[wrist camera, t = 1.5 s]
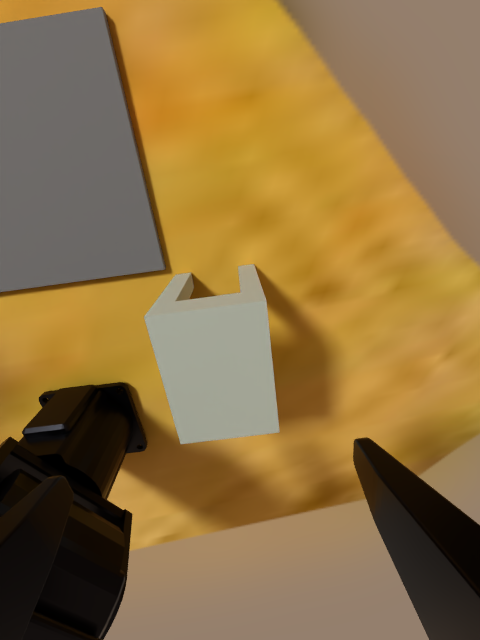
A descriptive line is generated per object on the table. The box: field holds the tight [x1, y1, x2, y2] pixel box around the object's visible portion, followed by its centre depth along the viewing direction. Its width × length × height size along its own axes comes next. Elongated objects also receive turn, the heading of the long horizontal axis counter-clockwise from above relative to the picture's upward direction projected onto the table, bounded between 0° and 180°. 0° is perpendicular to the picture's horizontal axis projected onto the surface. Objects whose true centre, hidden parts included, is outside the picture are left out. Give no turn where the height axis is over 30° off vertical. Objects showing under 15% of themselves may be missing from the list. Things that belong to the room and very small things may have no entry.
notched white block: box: [144, 264, 279, 444], centre depth 16 cm, size 7×5×7 cm
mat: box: [0, 7, 166, 292], centre depth 15 cm, size 12×12×1 cm
